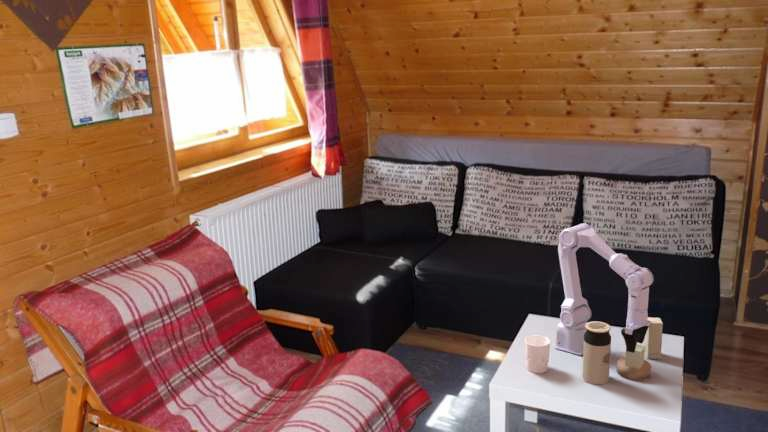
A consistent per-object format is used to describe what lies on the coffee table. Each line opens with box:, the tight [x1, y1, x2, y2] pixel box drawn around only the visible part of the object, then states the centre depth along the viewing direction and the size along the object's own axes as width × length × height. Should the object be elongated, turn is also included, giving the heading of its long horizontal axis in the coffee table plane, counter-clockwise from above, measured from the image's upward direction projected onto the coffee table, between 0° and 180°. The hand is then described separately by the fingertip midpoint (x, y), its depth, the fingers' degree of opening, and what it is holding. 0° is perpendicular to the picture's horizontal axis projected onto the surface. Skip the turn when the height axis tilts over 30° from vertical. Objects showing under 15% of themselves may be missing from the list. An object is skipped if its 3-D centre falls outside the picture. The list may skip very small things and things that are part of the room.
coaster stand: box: [616, 356, 652, 382], centre depth 203 cm, size 10×10×3 cm
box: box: [644, 316, 664, 360], centre depth 212 cm, size 5×4×13 cm
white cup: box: [524, 334, 551, 374], centre depth 208 cm, size 8×8×10 cm
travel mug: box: [581, 320, 612, 385], centre depth 199 cm, size 8×8×18 cm
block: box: [624, 343, 646, 369], centre depth 202 cm, size 4×4×6 cm
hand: (634, 346), depth 201 cm, fingers open, 7 cm apart
